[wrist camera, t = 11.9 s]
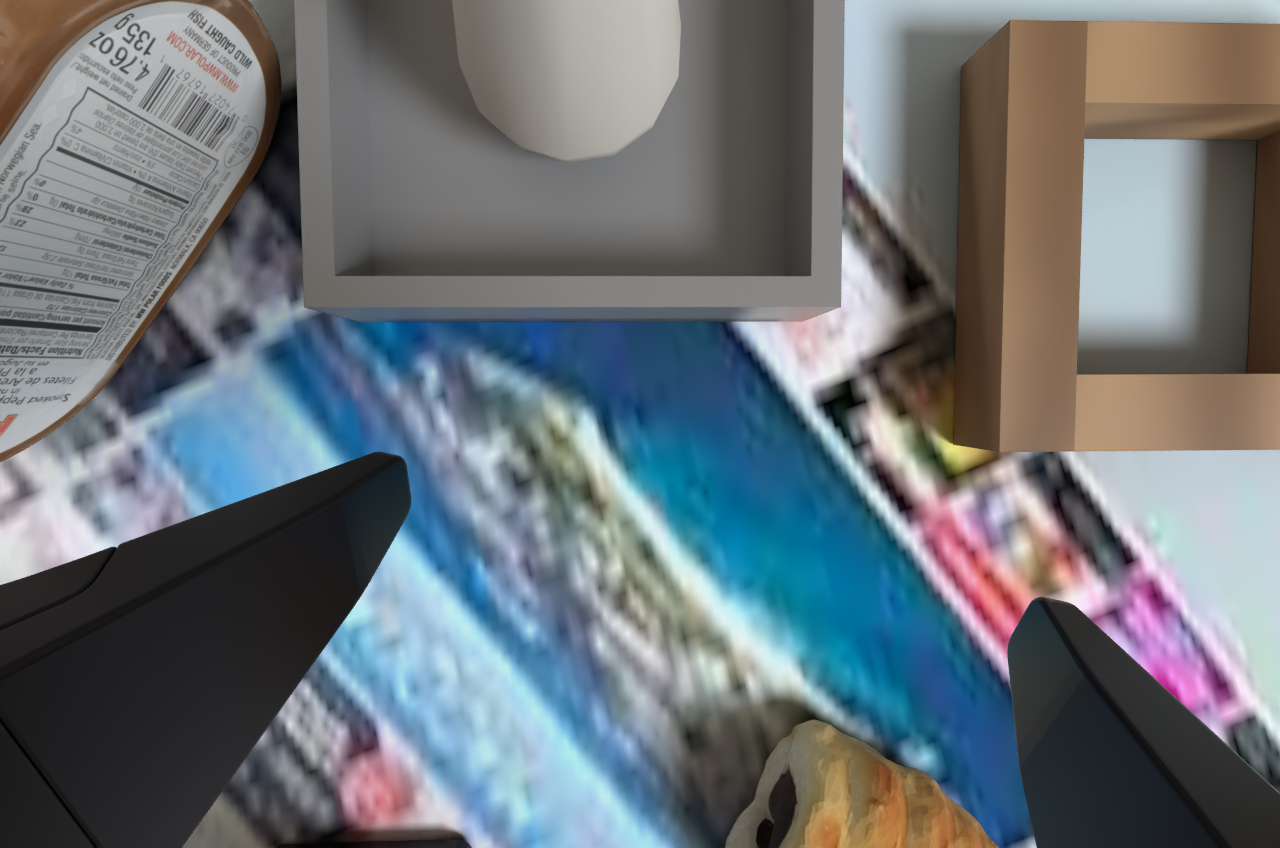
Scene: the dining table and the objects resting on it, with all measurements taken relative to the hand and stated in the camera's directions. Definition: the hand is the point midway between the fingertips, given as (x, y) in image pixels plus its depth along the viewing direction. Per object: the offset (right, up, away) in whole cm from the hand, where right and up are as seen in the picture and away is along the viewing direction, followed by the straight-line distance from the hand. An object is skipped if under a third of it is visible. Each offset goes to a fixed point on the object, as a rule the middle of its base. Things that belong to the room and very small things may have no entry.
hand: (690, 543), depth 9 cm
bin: (-3, +12, +11) cm, 16 cm away
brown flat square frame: (+16, +7, +12) cm, 21 cm away
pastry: (+6, -12, +13) cm, 19 cm away
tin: (-15, +7, +11) cm, 20 cm away
